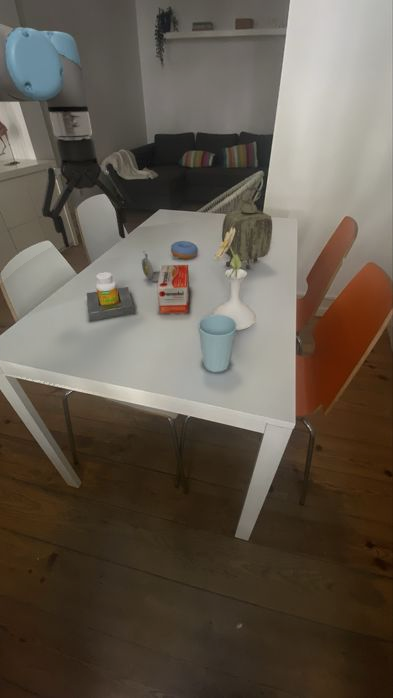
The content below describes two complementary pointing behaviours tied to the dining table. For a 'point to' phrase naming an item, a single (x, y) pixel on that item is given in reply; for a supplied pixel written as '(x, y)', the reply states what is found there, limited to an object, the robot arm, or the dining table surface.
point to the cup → (216, 341)
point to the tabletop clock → (248, 231)
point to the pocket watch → (149, 270)
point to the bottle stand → (110, 306)
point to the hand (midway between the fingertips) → (95, 241)
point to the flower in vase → (234, 289)
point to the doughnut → (184, 249)
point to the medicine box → (173, 289)
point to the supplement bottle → (106, 289)
